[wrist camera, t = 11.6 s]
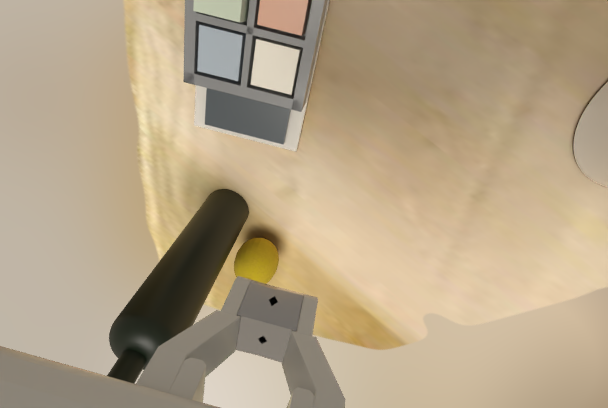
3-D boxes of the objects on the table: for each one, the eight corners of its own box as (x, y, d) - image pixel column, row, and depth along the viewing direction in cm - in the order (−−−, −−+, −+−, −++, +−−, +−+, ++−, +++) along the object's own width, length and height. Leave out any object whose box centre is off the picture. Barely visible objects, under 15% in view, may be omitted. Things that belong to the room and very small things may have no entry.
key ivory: (262, 36, 32) (256, 39, 30) (303, 47, 32) (299, 50, 30) (256, 79, 34) (250, 84, 32) (294, 89, 34) (291, 94, 32)
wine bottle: (233, 232, 47) (87, 505, 22) (199, 207, 46) (0, 468, 20) (257, 208, 45) (122, 487, 19) (221, 180, 43) (25, 443, 18)
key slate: (208, 23, 32) (199, 24, 30) (249, 33, 32) (242, 35, 30) (206, 66, 34) (197, 71, 32) (244, 76, 34) (237, 81, 32)
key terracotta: (269, -29, 29) (263, -31, 27) (314, -18, 29) (311, -19, 27) (263, 22, 31) (257, 24, 30) (305, 33, 31) (301, 35, 29)
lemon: (250, 258, 49) (232, 300, 43) (240, 227, 47) (220, 266, 40) (287, 257, 48) (275, 299, 41) (279, 225, 46) (265, 265, 39)
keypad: (205, -71, 30) (185, -81, 26) (338, -38, 30) (335, -43, 26) (197, 122, 39) (181, 135, 36) (297, 148, 39) (291, 163, 36)
